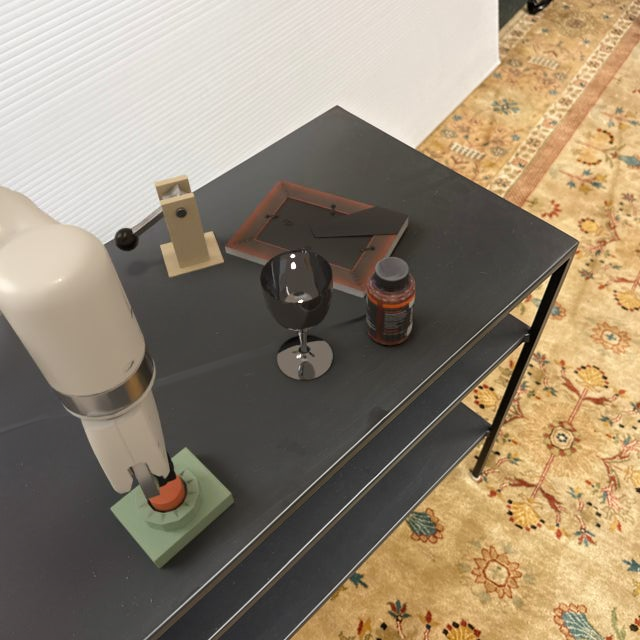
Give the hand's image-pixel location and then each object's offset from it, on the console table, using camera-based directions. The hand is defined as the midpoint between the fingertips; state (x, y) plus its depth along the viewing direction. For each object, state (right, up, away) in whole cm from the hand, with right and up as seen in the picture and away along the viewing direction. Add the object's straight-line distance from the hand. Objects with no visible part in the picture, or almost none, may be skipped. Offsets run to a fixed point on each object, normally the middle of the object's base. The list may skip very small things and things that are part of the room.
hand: (159, 477), depth 64 cm
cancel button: (0, -3, +3) cm, 4 cm away
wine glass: (+14, +11, +18) cm, 25 cm away
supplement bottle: (+25, +14, +21) cm, 35 cm away
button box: (0, -5, +6) cm, 8 cm away
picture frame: (+16, +27, +32) cm, 44 cm away
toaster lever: (-6, +28, +24) cm, 38 cm away
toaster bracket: (-3, +24, +31) cm, 39 cm away
